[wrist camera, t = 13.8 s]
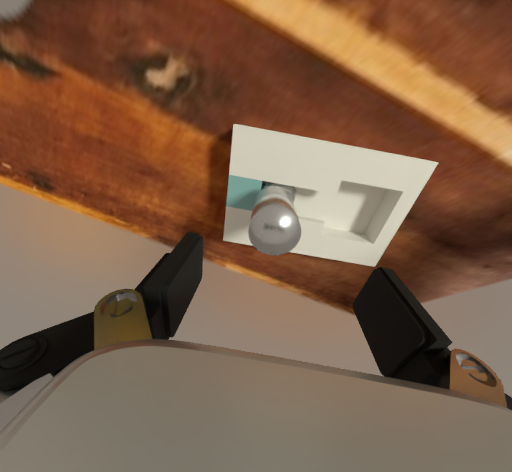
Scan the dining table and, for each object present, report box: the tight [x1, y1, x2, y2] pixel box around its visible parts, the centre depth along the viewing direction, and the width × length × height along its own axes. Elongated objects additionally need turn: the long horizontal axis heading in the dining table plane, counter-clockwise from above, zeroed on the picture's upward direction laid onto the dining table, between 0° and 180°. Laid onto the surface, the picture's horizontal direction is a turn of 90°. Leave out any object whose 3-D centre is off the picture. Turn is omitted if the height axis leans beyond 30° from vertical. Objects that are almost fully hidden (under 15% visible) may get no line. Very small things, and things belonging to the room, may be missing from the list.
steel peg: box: [248, 181, 301, 255], centre depth 19 cm, size 5×5×10 cm
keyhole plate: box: [223, 124, 438, 267], centre depth 23 cm, size 20×13×4 cm, turn 81°
